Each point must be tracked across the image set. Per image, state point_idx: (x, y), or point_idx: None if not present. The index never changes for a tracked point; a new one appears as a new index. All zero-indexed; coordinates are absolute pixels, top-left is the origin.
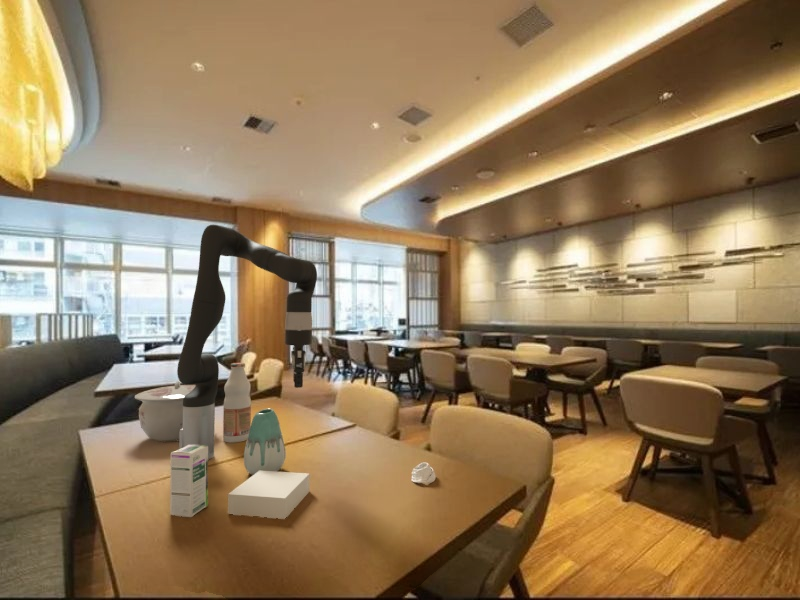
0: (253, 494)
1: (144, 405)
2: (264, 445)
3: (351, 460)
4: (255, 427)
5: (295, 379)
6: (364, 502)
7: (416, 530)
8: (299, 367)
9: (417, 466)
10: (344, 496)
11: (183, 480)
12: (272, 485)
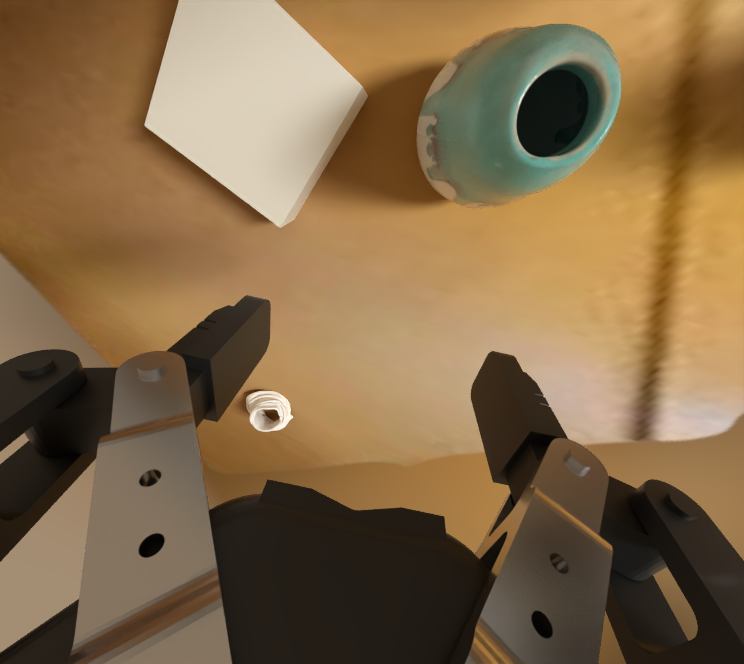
0: (181, 31)
1: None
2: (433, 110)
3: (417, 352)
4: (495, 48)
5: (216, 331)
6: (215, 297)
7: (114, 322)
8: (514, 494)
9: (283, 418)
10: (248, 276)
11: None
12: (230, 107)
